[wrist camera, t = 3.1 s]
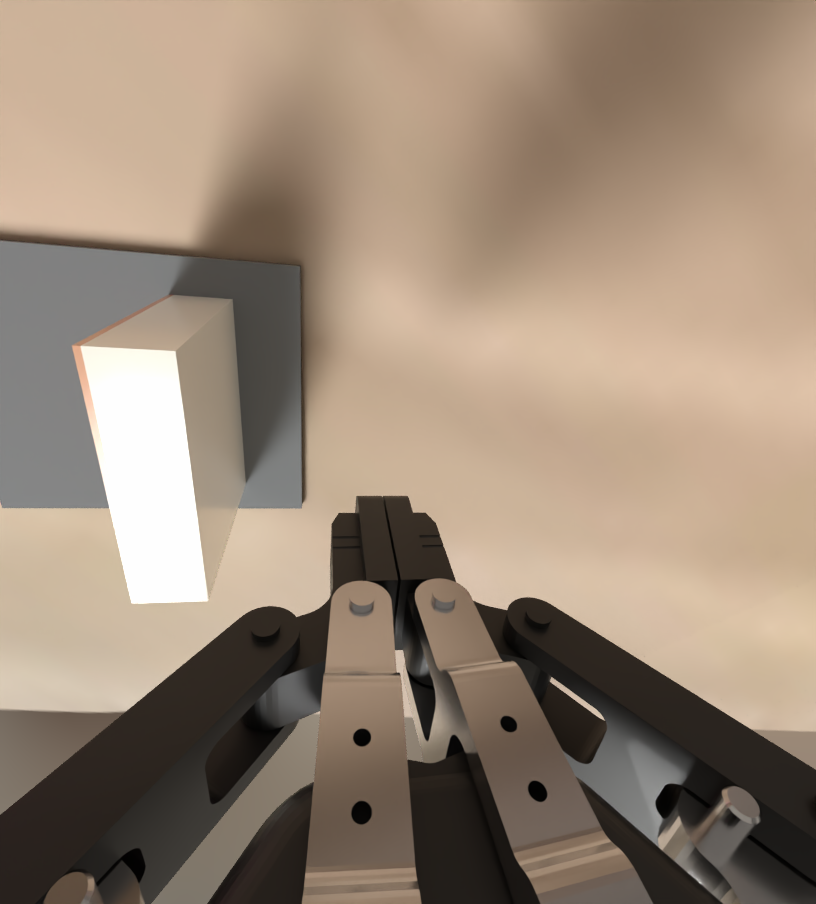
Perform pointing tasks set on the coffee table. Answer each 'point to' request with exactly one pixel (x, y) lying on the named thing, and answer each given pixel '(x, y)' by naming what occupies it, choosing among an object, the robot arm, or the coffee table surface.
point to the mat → (102, 304)
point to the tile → (168, 440)
